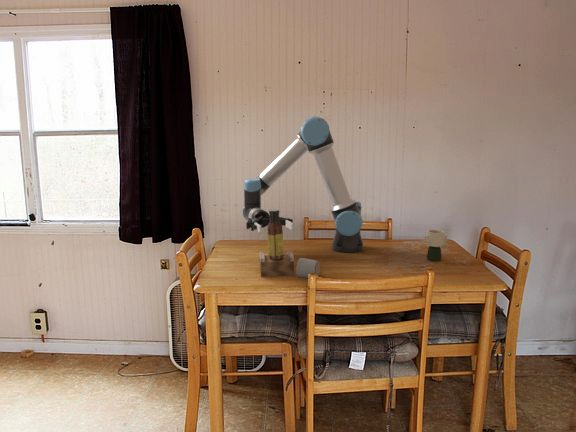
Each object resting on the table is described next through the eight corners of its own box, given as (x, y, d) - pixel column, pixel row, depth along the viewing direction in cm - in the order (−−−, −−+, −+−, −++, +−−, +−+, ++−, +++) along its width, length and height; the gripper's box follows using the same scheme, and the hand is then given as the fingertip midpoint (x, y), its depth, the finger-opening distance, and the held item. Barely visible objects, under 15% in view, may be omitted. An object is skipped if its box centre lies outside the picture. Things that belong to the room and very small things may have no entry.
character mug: (441, 257, 220) (443, 229, 217) (449, 261, 213) (451, 232, 210) (418, 258, 218) (420, 229, 215) (425, 262, 211) (427, 233, 209)
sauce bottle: (284, 256, 199) (284, 208, 195) (283, 260, 193) (282, 211, 189) (268, 255, 199) (268, 208, 195) (266, 260, 193) (266, 211, 189)
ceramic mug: (316, 281, 187) (316, 262, 185) (295, 279, 189) (296, 260, 187) (322, 273, 197) (322, 255, 195) (302, 271, 199) (303, 253, 197)
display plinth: (290, 268, 203) (291, 250, 201) (293, 275, 193) (293, 257, 192) (259, 269, 201) (259, 251, 200) (261, 276, 192) (260, 258, 190)
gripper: (285, 223, 218) (305, 234, 199) (232, 228, 209) (246, 239, 189) (286, 207, 216) (305, 216, 197) (231, 211, 207) (246, 221, 188)
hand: (276, 228), depth 193 cm, fingers open, 13 cm apart
